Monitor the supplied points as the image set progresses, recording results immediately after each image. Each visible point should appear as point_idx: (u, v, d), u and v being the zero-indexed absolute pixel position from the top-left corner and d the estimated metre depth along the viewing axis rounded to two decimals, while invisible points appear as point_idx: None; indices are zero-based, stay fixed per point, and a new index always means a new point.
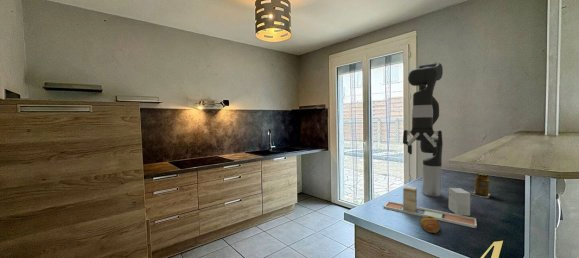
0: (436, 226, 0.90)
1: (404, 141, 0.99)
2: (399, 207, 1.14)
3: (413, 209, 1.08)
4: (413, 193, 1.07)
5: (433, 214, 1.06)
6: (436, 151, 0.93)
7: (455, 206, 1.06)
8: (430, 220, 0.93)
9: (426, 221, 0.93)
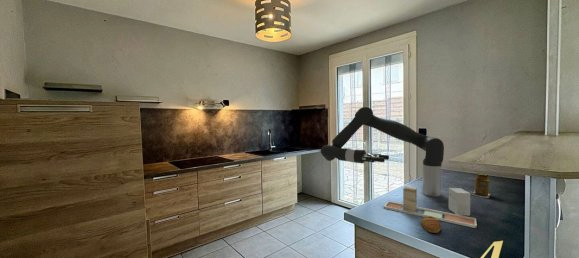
0: (437, 226, 0.90)
1: None
2: (399, 207, 1.14)
3: (413, 209, 1.08)
4: (413, 193, 1.07)
5: (433, 214, 1.06)
6: (379, 161, 1.13)
7: (455, 206, 1.06)
8: (431, 220, 0.93)
9: (427, 221, 0.93)
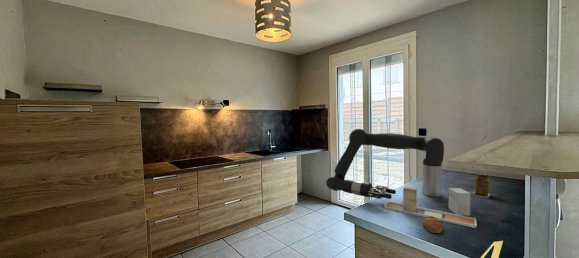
0: (439, 226, 0.90)
1: None
2: (399, 207, 1.14)
3: (413, 209, 1.08)
4: (413, 193, 1.07)
5: (433, 214, 1.06)
6: (386, 197, 1.12)
7: (455, 206, 1.06)
8: (433, 220, 0.93)
9: (429, 221, 0.93)
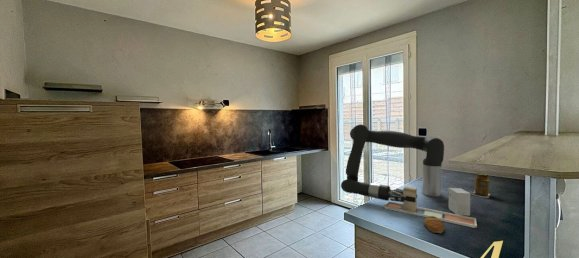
0: (441, 226, 0.90)
1: None
2: (399, 207, 1.14)
3: (413, 209, 1.08)
4: (413, 193, 1.07)
5: (433, 214, 1.06)
6: (410, 201, 1.07)
7: (455, 206, 1.06)
8: (434, 220, 0.93)
9: (430, 221, 0.93)
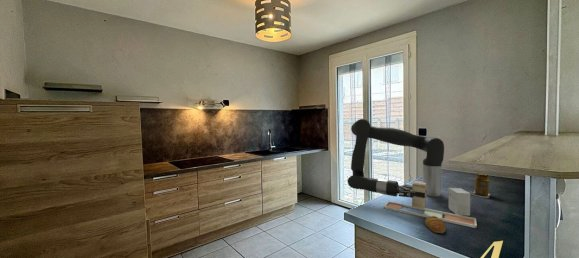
0: (443, 226, 0.90)
1: None
2: (399, 207, 1.14)
3: (422, 205, 1.05)
4: (423, 188, 1.05)
5: (433, 214, 1.06)
6: (419, 196, 1.05)
7: (455, 206, 1.06)
8: (436, 220, 0.93)
9: (432, 221, 0.93)
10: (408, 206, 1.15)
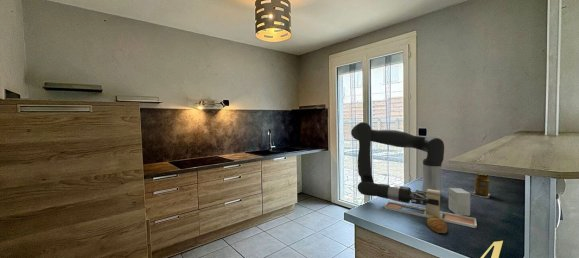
0: (444, 226, 0.90)
1: None
2: (399, 207, 1.14)
3: (437, 213, 1.02)
4: (437, 197, 1.02)
5: None
6: (433, 204, 1.01)
7: (455, 206, 1.06)
8: (437, 220, 0.93)
9: (434, 221, 0.93)
10: (408, 206, 1.15)
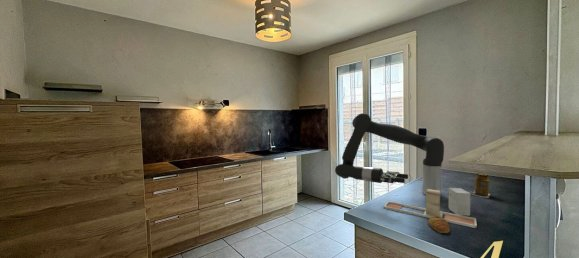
0: (447, 226, 0.90)
1: None
2: (399, 207, 1.14)
3: (437, 213, 1.02)
4: (437, 197, 1.02)
5: None
6: (399, 182, 1.08)
7: (455, 206, 1.06)
8: (439, 220, 0.93)
9: (436, 221, 0.93)
10: (408, 206, 1.15)
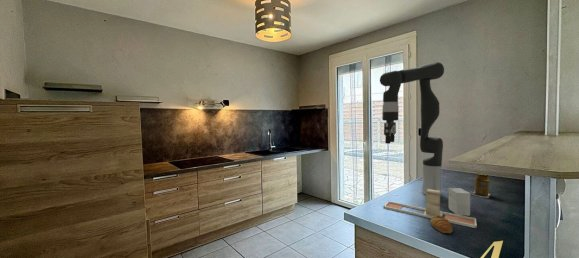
0: (449, 226, 0.90)
1: None
2: (399, 207, 1.14)
3: (437, 213, 1.02)
4: (437, 197, 1.02)
5: None
6: (386, 139, 1.14)
7: (455, 206, 1.06)
8: (442, 220, 0.93)
9: (438, 221, 0.93)
10: (408, 206, 1.15)
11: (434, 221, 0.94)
